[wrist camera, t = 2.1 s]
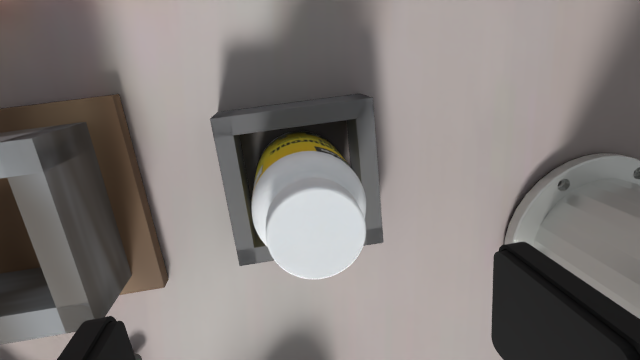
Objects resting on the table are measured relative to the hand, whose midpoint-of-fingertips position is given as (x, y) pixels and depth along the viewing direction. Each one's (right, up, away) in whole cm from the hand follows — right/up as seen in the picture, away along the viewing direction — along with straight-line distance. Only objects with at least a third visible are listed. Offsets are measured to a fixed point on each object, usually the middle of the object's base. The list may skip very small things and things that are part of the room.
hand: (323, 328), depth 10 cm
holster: (-1, +4, +15) cm, 15 cm away
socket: (-17, +2, +13) cm, 22 cm away
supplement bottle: (-1, +4, +15) cm, 16 cm away
